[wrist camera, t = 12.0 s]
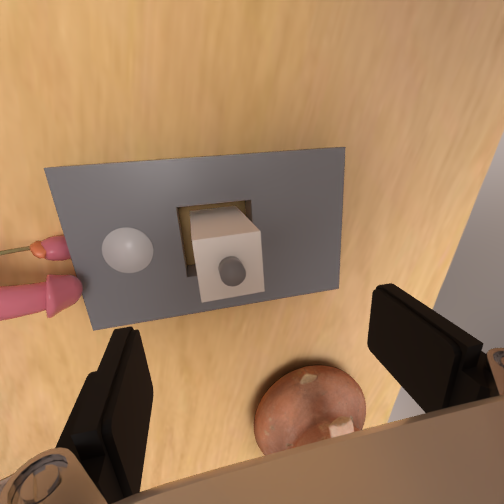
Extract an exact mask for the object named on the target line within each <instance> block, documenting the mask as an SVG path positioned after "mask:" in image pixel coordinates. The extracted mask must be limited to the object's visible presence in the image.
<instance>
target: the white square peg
mask: <svg viewBox="0 0 504 504" xmlns="http://www.w3.org/2000/svg"><path fill="white" fill-rule="evenodd" d="M190 223H191V237H192V245H193V252H194V258H195V264H196V271H197V277H198V283H199V289H200V296H201V302H202V303H203V302H208V301H214V300H219V299H225V298H231V297H236V296H242V295H248V294H253V293H259V292H264V291H265V289H264V274H263V260H262V245H261V231H260V230H259V229H258V228H257V227H256V226H255V225H254V224H253V223H252V222H251V221H250V220H249V219H248V218H247V217H246V216H245V215H244V214H243V213H242V212H241V211H240V210H239V209H238V208H237V207H236V206H226V207H218V208H209V209H201V210H192V211H190Z"/></svg>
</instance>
